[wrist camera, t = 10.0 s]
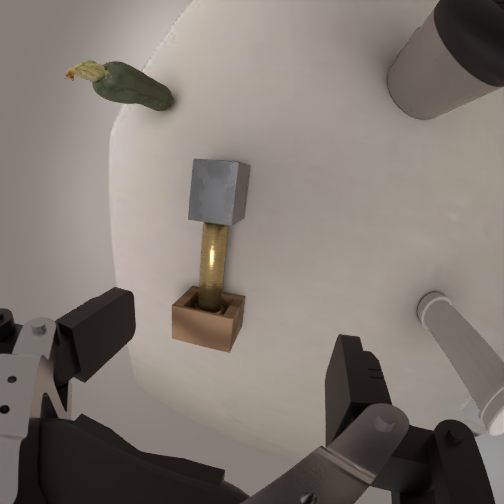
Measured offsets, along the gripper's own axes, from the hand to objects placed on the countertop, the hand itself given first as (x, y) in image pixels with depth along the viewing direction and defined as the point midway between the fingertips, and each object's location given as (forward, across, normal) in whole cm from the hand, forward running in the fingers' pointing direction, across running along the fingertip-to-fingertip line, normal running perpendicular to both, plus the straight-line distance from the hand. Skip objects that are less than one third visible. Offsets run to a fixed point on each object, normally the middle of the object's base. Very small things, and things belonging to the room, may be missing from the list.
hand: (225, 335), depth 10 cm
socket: (+28, +8, +14) cm, 32 cm away
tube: (+26, +8, +5) cm, 28 cm away
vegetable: (+28, +18, -15) cm, 37 cm away
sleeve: (+28, +8, -4) cm, 29 cm away
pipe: (+28, -24, +8) cm, 38 cm away
